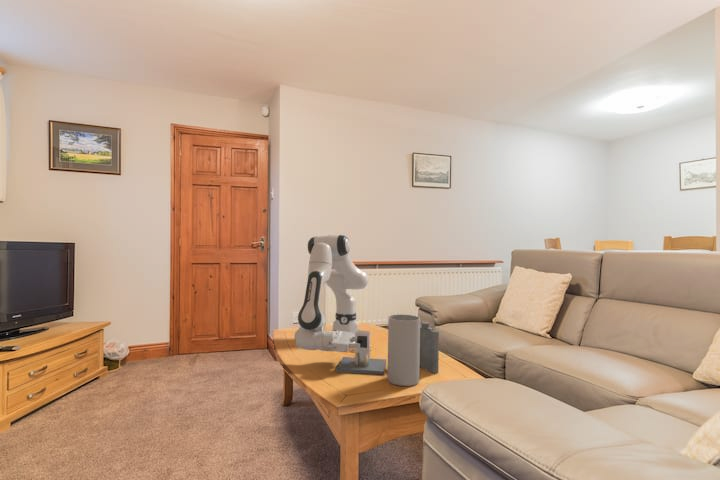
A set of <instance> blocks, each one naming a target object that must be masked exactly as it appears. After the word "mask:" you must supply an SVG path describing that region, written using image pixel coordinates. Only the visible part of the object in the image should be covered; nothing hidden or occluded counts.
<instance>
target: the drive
mask: <svg viewBox="0 0 720 480" xmlns="http://www.w3.org/2000/svg"><path fill="white" fill-rule="evenodd" d="M354 343H360V348H354V357H355V356H356V355H358V365H365V356H368V359H367V365H369V363H370V353H371V351H370V350H371V349H370V348H371V331H370V330H360V329H359V330H357V331H356V332H355V341H354Z"/></svg>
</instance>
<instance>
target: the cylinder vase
mask: <svg viewBox="0 0 720 480" xmlns="http://www.w3.org/2000/svg"><path fill="white" fill-rule="evenodd" d="M387 324H388V326H387V331H388V332H387V380H388V382H389V383H390V384H392V385H395V386H400V387H411V386H415V385H417V384H418V383H419V382H420V368H419V364H420V326H421V318H420V316H418V315H417V316H416V315H413V314H412V315H411V314H391V315H388V323H387Z"/></svg>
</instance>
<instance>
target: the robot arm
mask: <svg viewBox="0 0 720 480" xmlns="http://www.w3.org/2000/svg"><path fill="white" fill-rule="evenodd" d="M350 247H351V243H350V239H349V238H348V237H347V236H346V235H341V234H339V235H337V234H335V235H333V234H329V235H321V236H312V237H311V238H310V239H308V242H307V252H308V254H309V260H308V270H307V271H308V274H307V283H306V289H305V294H304V300H303V304H302V306H301V308H300V310H299V313H298V315H297V321H298V324H299V328H298V329H297V330H295V333H294V343H295V346H296V347H297V348H299V349H301V350H303V351H304V350H305V351H322V352H338V353H348V352H349V350H350V349H352V350H353V349H355V348H360V343H355V332H356V331H357V330H359V331H360V329H359V322H357V313H356V298H355V297H354V296H353V295H351V294H350V293H349V291H348V290H362V289H365V288H366V287H367V286H368V283H369V276H368V274H367V273H366V272H365V271H363V270H361V269H359V268H358V266H356V264H354V263H353V261H352V259H351V256H350V253H349V251H350ZM324 284H326V285H327V286H328V287H329V288H330V289H331V291H332V292H333V295H334V296H335V304H336V305H335V306H336V308H335V309H336V310H335V311H336V312H335V315H334V316H335V318H334V319H335V320H334V321H333V322H332V330H325V329H326V324H327V317H326V314H324V312H323V311H322V310H320V306H319V303H320V296H321V290H322V286H323V285H324Z"/></svg>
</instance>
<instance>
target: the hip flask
mask: <svg viewBox="0 0 720 480" xmlns="http://www.w3.org/2000/svg"><path fill="white" fill-rule="evenodd" d="M439 341H440V331H439V330H437V329H435V328H432V327H430V322H429V321H420V364H419V367H420V368H419V369H423V370H425V371H427V372H429V373H431V374H434V375H435V374H436V375H437V374H439V362H440V361H439V360H440V359H439V356H440V355H439V353H440V352H439V351H440V350H439V349H440V347H439V346H440V342H439Z"/></svg>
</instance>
